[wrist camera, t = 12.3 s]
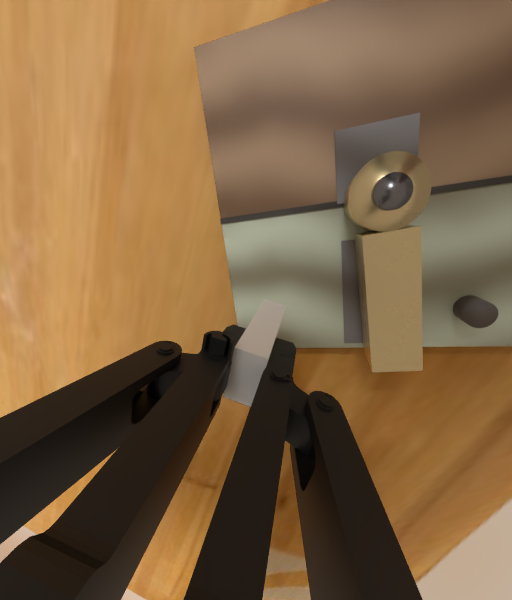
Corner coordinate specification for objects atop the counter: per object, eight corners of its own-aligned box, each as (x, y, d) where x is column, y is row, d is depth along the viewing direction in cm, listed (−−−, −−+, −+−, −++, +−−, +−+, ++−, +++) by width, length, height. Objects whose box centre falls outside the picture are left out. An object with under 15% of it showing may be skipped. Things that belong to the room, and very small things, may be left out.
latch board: (201, 58, 17) (182, 30, 15) (617, -79, 12) (700, -160, 9) (244, 342, 23) (236, 356, 21) (534, 338, 18) (571, 357, 15)
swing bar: (341, 172, 16) (348, 158, 13) (409, 156, 15) (438, 136, 12) (356, 351, 19) (366, 379, 16) (413, 347, 18) (437, 377, 15)
